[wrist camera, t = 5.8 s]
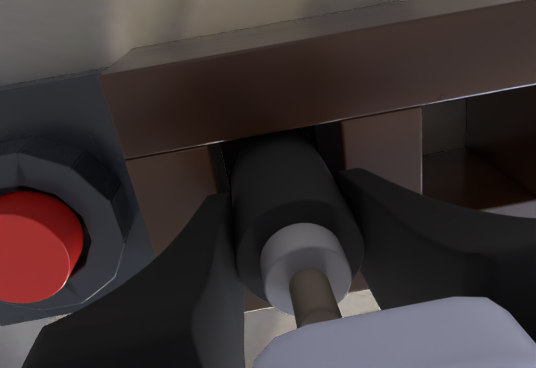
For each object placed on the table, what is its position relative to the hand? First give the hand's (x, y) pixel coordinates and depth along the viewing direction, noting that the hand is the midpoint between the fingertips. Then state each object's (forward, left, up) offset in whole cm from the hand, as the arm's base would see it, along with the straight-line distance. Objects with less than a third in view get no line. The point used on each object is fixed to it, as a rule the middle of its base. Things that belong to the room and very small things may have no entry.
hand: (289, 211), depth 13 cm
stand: (0, -3, -6) cm, 7 cm away
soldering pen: (0, 0, -3) cm, 3 cm away
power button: (-1, +9, -4) cm, 10 cm away
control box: (-1, +9, -6) cm, 11 cm away
